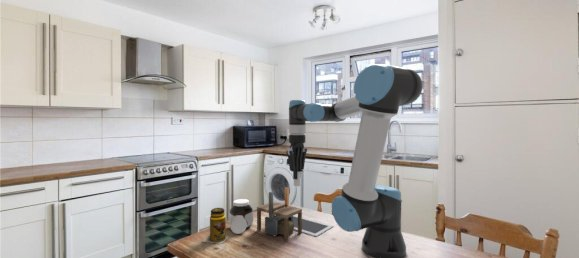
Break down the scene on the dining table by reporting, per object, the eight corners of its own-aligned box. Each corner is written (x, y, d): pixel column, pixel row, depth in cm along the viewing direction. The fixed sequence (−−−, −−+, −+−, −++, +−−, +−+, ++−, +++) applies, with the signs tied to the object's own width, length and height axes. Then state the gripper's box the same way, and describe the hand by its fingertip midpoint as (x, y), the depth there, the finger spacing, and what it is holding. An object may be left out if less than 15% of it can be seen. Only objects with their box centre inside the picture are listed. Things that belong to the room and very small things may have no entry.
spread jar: (248, 222, 126) (247, 197, 126) (259, 230, 117) (259, 203, 117) (223, 227, 120) (222, 201, 119) (233, 236, 110) (233, 208, 110)
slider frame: (292, 227, 117) (292, 188, 117) (275, 236, 109) (275, 193, 108) (282, 224, 121) (282, 186, 121) (264, 232, 113) (264, 191, 112)
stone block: (288, 237, 110) (288, 225, 110) (264, 232, 116) (264, 220, 115) (294, 232, 115) (294, 220, 115) (271, 227, 121) (271, 216, 121)
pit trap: (333, 226, 120) (333, 225, 120) (316, 236, 110) (316, 235, 110) (288, 214, 137) (288, 213, 137) (269, 221, 126) (269, 221, 126)
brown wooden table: (301, 233, 114) (301, 208, 113) (286, 241, 106) (286, 215, 106) (273, 223, 124) (272, 201, 124) (257, 230, 116) (257, 207, 116)
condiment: (222, 243, 104) (222, 212, 104) (201, 242, 105) (201, 211, 105) (229, 235, 111) (229, 206, 111) (210, 234, 112) (209, 205, 112)
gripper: (299, 133, 131) (299, 181, 132) (281, 134, 121) (281, 187, 122) (312, 134, 126) (311, 184, 127) (294, 135, 116) (294, 190, 117)
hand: (296, 185), depth 124 cm, fingers closed
